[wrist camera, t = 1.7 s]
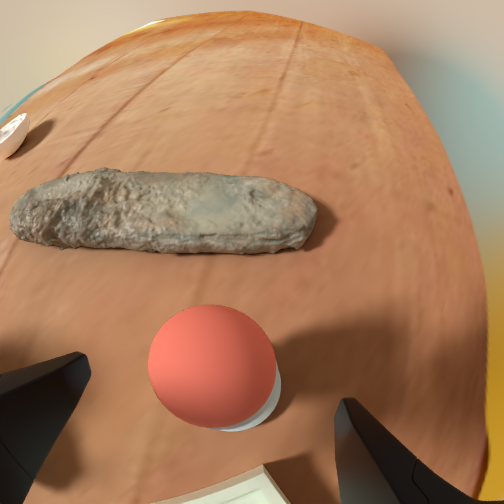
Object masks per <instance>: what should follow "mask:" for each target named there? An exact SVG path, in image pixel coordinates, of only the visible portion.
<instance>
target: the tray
mask: <svg viewBox="0 0 504 504" xmlns="http://www.w3.org/2000/svg"><path fill="white" fill-rule="evenodd" d="M150 504H291V503H290V502H289V500H288V499H287V498H286V496H285V495H284V494H283V492H282V491H281V489H280V488H279V487H278V485H277V484H276V483H275V481H274V480H273V478H272V477H271V475H270V474H269V473H268V471H267V470H266V468H265V467H264V465H263V464H262V465H260V466H258V467H255V468H253V469H251V470H249V471H247V472H244V473H242V474H240V475H237V476H235V477H232V478H230V479H227V480H225V481H222V482H220V483H217V484H214V485H212V486H209V487H206V488H203V489H200V490H197V491H194V492H191V493H188V494H185V495H181V496H178V497H174V498H170V499H167V500H163V501H159V502H154V503H150Z"/></svg>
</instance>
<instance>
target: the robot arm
mask: <svg viewBox="0 0 504 504" xmlns="http://www.w3.org/2000/svg"><path fill="white" fill-rule="evenodd" d="M90 377H91V369H90V365H89V362H88V358H87V356H86V355H85V354H83V353H81V352H73V353H70V354H67V355H64V356H61V357H57V358H54V359H51V360H48V361H45V362H41V363H38V364H35V365H31V366H28V367H24V368H21V369H18V370H14V371H11V372H7V373H4V374H0V504H23V502H24V500H25V498H26V496H27V494H28V492H29V490H30V488H31V486H32V484H33V482H34V481H33V480H35V478H36V476H37V474H38V472H39V470H40V468H41V466H42V464H43V463H44V461H45V459H46V457H47V455H48V453H49V452H50V450H51V448H52V446H53V445H54V443H55V441H56V439H57V438H58V436H59V434H60V433H61V431H62V429H63V427H64V426H65V424H66V422H67V421H68V419H69V418H70V416H71V414H72V413H73V411H74V409H75V408H76V406H77V404H78V402H79V400H80V398H81V396H82V393H83V391H84V389H85V387H86V385H87V383H88V381H89V379H90ZM334 425H335V460H336V468H337V475H338V483H339V491H340V499H341V504H504V500H503V501H480V500H476V499H474V498H471V497H469V496H468V495H466V494H464V493H463V492H461V491H460V490H458V489H457V488H455V487H454V486H452V485H451V484H449V483H448V482H446V481H445V480H444V479H442V478H441V477H439V476H438V475H437V474H435V473H434V472H433V471H432V470H431V469H429V468H428V467H427V466H426V465H425V464H424V463H422V462H421V461H420V460H419V459H416V458H417V457H416V456H415V455H414V454H413V453H411V452H410V451H409V450H408V449H407V448H406V447H405V446H404V445H403V444H402V443H401V442H400V441H399V440H398V439H397V438H395V437H394V436H393V435H392V434H391V433H390V432H389V431H388V430H387V429H386V428H385V427H384V426H383V425H382V424H381V423H380V422H379V421H378V420H377V419H376V418H375V417H373V416H372V415H371V414H370V413H369V412H368V411H367V410H366V409H365V408H364V407H363V406H362V405H361V404H360V403H359V402H358V401H357V400H356V399H355V398H342V399H341V401H340V403H339V406H338V408H337V411H336V414H335V418H334Z"/></svg>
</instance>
